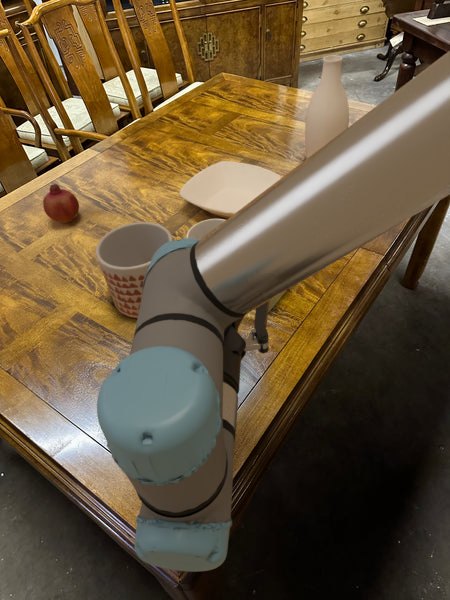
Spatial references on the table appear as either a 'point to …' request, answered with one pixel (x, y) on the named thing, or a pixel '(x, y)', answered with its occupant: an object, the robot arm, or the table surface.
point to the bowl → (227, 187)
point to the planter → (129, 261)
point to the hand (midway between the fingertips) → (221, 251)
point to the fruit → (60, 204)
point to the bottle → (326, 108)
